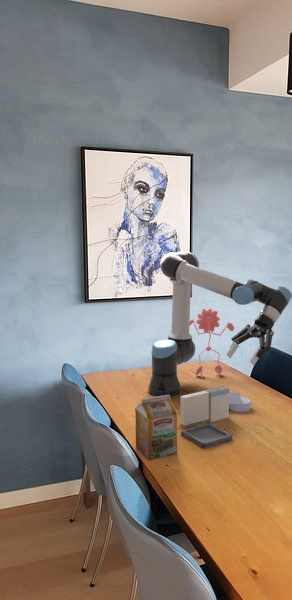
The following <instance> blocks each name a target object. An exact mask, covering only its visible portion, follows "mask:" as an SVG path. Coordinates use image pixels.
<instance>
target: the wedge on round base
mask: <svg viewBox="0 0 292 600" xmlns="http://www.w3.org/2000/svg"><path fill="white" fill-rule="evenodd" d="M251 401H252V400H251V399H250V398H247V397H244V396H241V392H237V391H236V392H235V391H234V392H230V391H229V410H231V411H233V412H237V413H239V412H240V413H241V412H243V413H244V412H248V411H251Z"/></svg>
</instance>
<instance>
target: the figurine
mask: <svg viewBox="0 0 292 600" xmlns="http://www.w3.org/2000/svg"><path fill="white" fill-rule="evenodd" d="M217 315H218V311H217V310H213V309H212V308H209V309H207V310H206V309H205V308H204V309H203V308H202V311H201V313H198V314H197V320H196V321H194V319H190V321H189V327H190V326H191V325H192V324H193V326H194V327H195V330H196V332H197V334H198V335H204V334H208V335H209V338H208V343H207V345H206V347H205V349H204V350H203V351H202V352H200V353H199V355H198V357H199V359H198V360H199V361H201V355H202V354H203V353H204V352H205V351H207V352H210V351H213V352H215V353H217V354H218V358H217V365H216V366H214V371H215V373H216V374H217V375H218V378H219V379H220V378H221V376H220V375H221V373H222V372H223V367H222V366H221V365H219V362H220V353H219V352H218V351H217V350H215V349H212V347H211V346H210V342H211V338H212V337H211V336H212V335H215V336H218V337H221V336H222V335H223V333H224V332H225V330H226V329H228V330H229V331H230V332H233V331H234V329H235V326H234V324H232V323H231V322H228V323H226V326H225V327H223V330H222V331H221V332H220V334H219V333H216V332H214V331H215V328H219V327H220V322H219V321H220V318H221V317H219V316H217ZM195 322H196V323H195ZM196 324H197V325H198V328H197V325H196ZM198 329H199V330H203V332H199V330H198ZM211 334H212V335H211ZM203 367H204V366H203V365H201V364H199V367H198V368H197V369H196V371H194V370H193V371H191V372H188V374H191V373H194V372H195V376H198V375H199V374H200V378H201V379H203V373H202V372H205V371H209V372H210V371H211V370H210V369H209V370H204V369H203Z"/></svg>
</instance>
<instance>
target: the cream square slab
mask: <svg viewBox="0 0 292 600" xmlns="http://www.w3.org/2000/svg"><path fill="white" fill-rule="evenodd" d="M209 398H210V392H207V391H205V390H202V391H198V392H194V393H189V394H185V395H180V422H179V424H180V425H179V427H180V428H182V429H183V430H185V429H189V428H193V427H196V426H200V425H204V424H207V423H210V421H209Z"/></svg>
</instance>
